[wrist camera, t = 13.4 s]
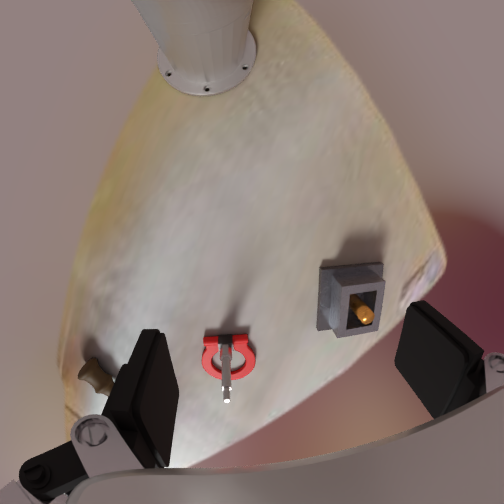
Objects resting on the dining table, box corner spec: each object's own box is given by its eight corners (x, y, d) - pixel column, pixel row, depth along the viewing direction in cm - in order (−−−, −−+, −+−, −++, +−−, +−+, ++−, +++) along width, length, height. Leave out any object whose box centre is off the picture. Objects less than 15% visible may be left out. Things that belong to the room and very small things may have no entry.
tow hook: (255, 373, 45) (253, 330, 42) (264, 434, 33) (262, 393, 30) (206, 377, 45) (197, 334, 42) (203, 438, 33) (190, 397, 30)
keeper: (319, 267, 40) (336, 287, 33) (380, 261, 41) (404, 279, 34) (316, 327, 43) (330, 354, 36) (372, 318, 44) (392, 341, 37)
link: (331, 275, 39) (342, 286, 36) (372, 270, 40) (385, 281, 36) (328, 323, 42) (337, 338, 38) (367, 317, 42) (377, 330, 38)
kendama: (104, 344, 42) (185, 413, 47) (78, 366, 43) (154, 428, 48) (90, 365, 36) (181, 437, 41) (65, 385, 37) (148, 449, 42)
